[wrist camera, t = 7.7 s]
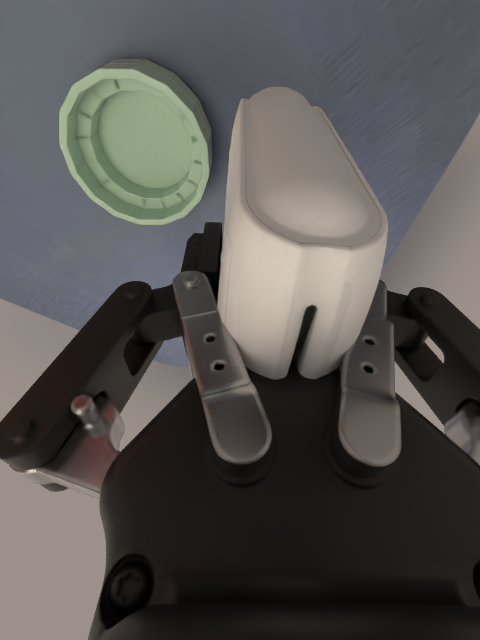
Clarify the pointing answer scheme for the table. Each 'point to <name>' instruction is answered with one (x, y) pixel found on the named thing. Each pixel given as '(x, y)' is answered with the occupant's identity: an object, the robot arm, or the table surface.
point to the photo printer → (296, 238)
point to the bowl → (137, 141)
